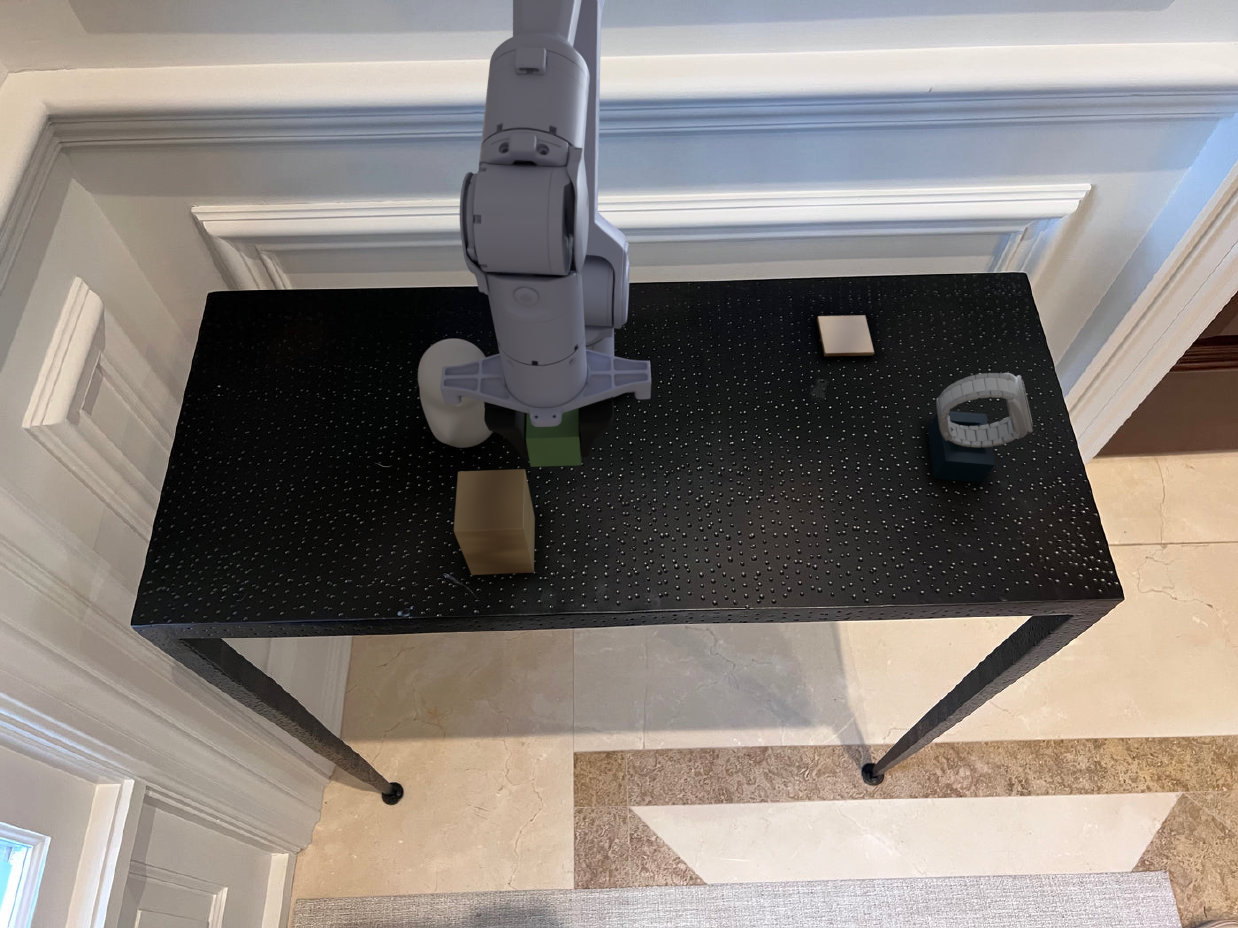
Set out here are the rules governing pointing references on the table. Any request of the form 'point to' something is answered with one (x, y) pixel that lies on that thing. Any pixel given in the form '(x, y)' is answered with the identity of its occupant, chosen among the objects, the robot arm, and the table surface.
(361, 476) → the table surface
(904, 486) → the table surface
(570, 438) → the green block
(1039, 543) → the table surface
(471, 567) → the wooden block
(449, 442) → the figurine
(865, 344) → the coaster
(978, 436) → the watch
